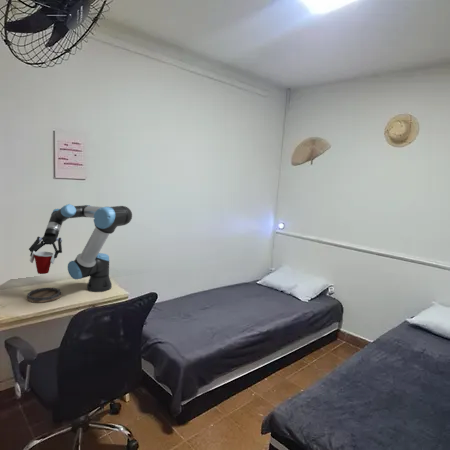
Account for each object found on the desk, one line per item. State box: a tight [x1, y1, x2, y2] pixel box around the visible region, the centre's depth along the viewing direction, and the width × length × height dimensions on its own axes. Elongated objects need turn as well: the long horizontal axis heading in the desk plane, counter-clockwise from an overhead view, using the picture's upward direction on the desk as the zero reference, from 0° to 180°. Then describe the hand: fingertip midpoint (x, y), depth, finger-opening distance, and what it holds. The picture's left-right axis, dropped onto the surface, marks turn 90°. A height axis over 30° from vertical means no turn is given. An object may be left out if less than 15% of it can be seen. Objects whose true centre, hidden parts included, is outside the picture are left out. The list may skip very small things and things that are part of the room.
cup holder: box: [26, 287, 63, 304], centre depth 197 cm, size 18×18×3 cm
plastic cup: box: [33, 251, 53, 275], centre depth 195 cm, size 11×11×12 cm
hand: (41, 262), depth 192 cm, fingers closed on plastic cup, 11 cm apart
